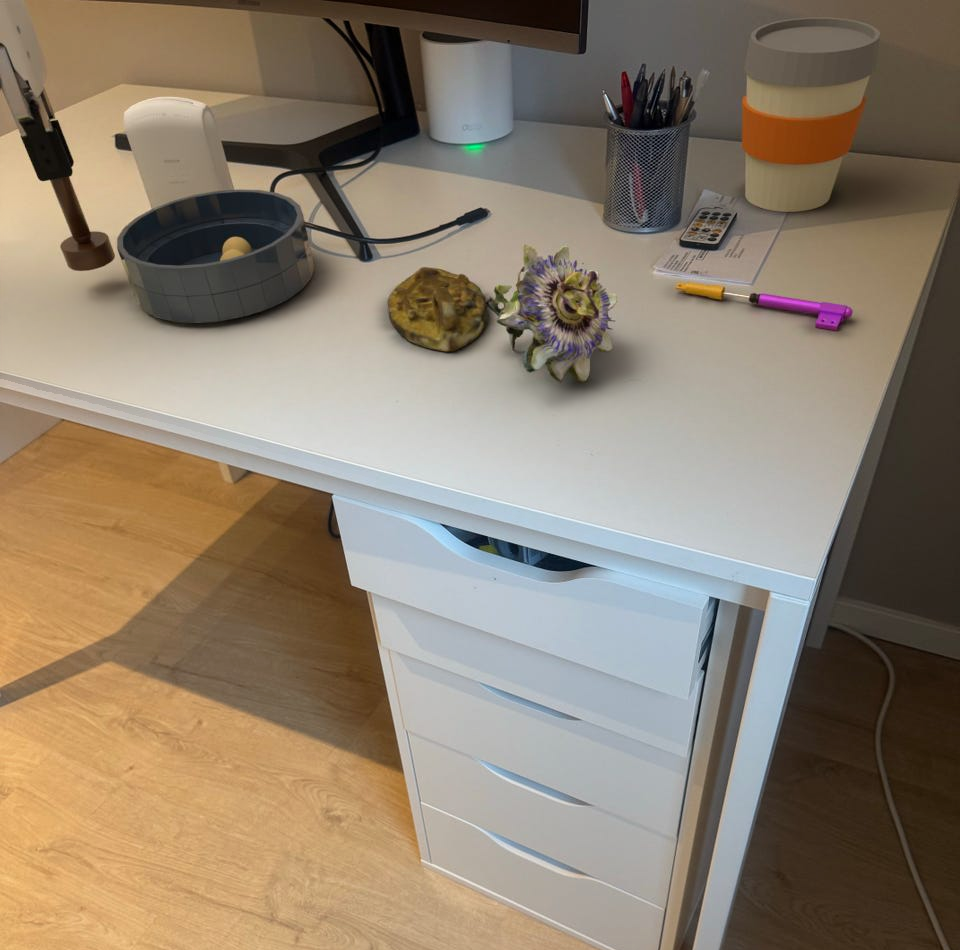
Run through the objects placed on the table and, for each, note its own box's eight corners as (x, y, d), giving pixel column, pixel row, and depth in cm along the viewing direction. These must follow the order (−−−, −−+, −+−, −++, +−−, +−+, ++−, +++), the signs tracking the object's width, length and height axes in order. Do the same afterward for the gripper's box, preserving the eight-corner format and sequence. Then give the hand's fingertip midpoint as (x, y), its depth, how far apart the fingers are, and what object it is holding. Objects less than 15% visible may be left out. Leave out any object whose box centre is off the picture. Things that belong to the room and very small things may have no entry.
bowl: (139, 343, 86) (116, 282, 82) (137, 264, 98) (117, 208, 94) (326, 307, 88) (314, 245, 84) (302, 234, 101) (290, 177, 96)
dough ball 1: (216, 234, 92) (226, 254, 91) (244, 227, 93) (255, 247, 92) (220, 257, 95) (230, 277, 94) (247, 250, 96) (257, 270, 95)
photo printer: (149, 223, 106) (110, 106, 97) (164, 208, 109) (127, 93, 100) (232, 222, 104) (200, 103, 95) (244, 207, 107) (214, 90, 98)
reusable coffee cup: (847, 221, 93) (884, 53, 82) (722, 216, 96) (742, 53, 85) (848, 174, 101) (882, 15, 90) (733, 171, 104) (752, 17, 93)
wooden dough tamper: (65, 274, 91) (0, 119, 81) (70, 254, 94) (9, 103, 84) (113, 266, 91) (55, 111, 81) (117, 247, 95) (61, 96, 84)
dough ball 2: (259, 262, 92) (239, 273, 94) (239, 238, 90) (218, 250, 92) (251, 281, 91) (231, 291, 92) (230, 257, 89) (209, 269, 90)
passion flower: (578, 431, 80) (552, 376, 69) (480, 379, 83) (439, 318, 72) (646, 322, 80) (631, 248, 68) (544, 275, 83) (514, 196, 72)
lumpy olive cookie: (378, 299, 91) (410, 371, 81) (366, 254, 87) (397, 322, 77) (466, 271, 91) (508, 339, 81) (457, 225, 88) (500, 290, 78)
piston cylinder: (852, 314, 80) (679, 287, 86) (854, 303, 79) (679, 276, 85) (843, 335, 79) (668, 305, 85) (845, 324, 78) (668, 295, 84)
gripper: (-72, -75, 78) (23, 153, 91) (-103, -42, 67) (10, 211, 81) (17, -88, 79) (98, 140, 92) (0, -57, 68) (95, 195, 82)
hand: (56, 171), depth 87 cm, fingers closed on wooden dough tamper
